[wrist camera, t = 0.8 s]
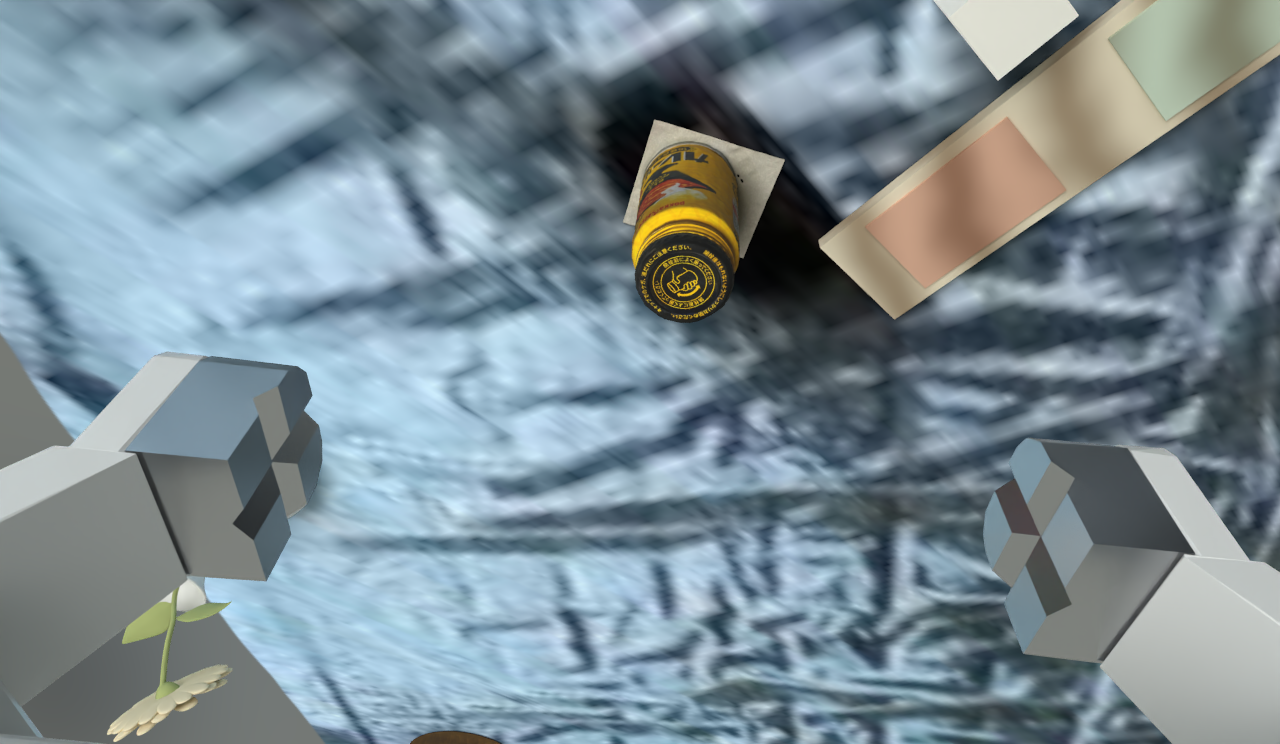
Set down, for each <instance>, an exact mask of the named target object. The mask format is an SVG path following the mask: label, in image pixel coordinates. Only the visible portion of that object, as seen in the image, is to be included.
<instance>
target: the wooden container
mask: <svg viewBox="0 0 1280 744" xmlns="http://www.w3.org/2000/svg"><path fill="white" fill-rule="evenodd" d="M410 744H500V743H498V742H496V741H494V740H491V739H489V738H486V737H483V736H480V735H475V734H471V733H465V732H455V731H443V732H433V733H428V734H425V735H422V736H420V737H418V738H416V739H414V740H413V741H412V742H411V743H410Z"/></svg>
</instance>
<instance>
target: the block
mask: <svg viewBox="0 0 1280 744" xmlns="http://www.w3.org/2000/svg"><path fill="white" fill-rule="evenodd" d="M934 2H935V3H936V4H937V5H938V7H939V8H940V9H941V10H942V12H943V13H944V14H945V16H946V17H947V18H948V19H949V21H950V22H951V23H952V24H953V26H954V27H955V28H956V29H957V31H958V32H959V33H960V34H961V36H962V37H963V38H964V39H965V41H966V42H967V43H968V44H969V46H970V47H971V48H972V49H973V51H974V52H975V53H976V54H977V56H978V57H979V58H980V59H981V61H982V62H983V63H984V64H985V66H986V67H987V68H988V69H989V70H990V72H991V73H992V74H993V75H994V77H995V78H996V79H997V80H999V79H1001V78H1002V77H1003V76H1004V75H1006V74H1007V73H1008V72H1009V71H1011V70H1012V69H1013V68H1014V67H1016V66H1017V65H1018V64H1019V63H1021V62H1022V61H1023V60H1024V59H1026V58H1027V57H1028V56H1029V55H1031V54H1032V53H1033V52H1034V51H1036V50H1037V49H1038V48H1039V47H1041V46H1042V45H1043V44H1044V43H1046V42H1047V41H1048V40H1049V39H1051V38H1052V37H1053V36H1054V35H1056V34H1057V33H1058V32H1059V31H1060V30H1062V29H1063V28H1064V27H1065V26H1067V25H1068V24H1069V23H1070V22H1072V21H1073V20H1074V19H1075V18H1077V17H1078V16H1079V15H1078V14H1077V12H1076V11H1075V9H1074V8H1073V7H1072V5H1071V4H1070V2H1069V1H1068V0H934Z"/></svg>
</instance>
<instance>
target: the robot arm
mask: <svg viewBox="0 0 1280 744" xmlns="http://www.w3.org/2000/svg"><path fill="white" fill-rule="evenodd" d="M311 397H312V392H311V388H310V385H309V381H308V377H307V373H306V372H305V371H303V370H302V369H301V368H299V367H298V366H290V365H282V364H273V363H265V362H257V361H248V360H240V359H232V358H223V357H215V356H211V357H207V356H201V355H192V354H184V353H175V352H164V353H161V354H158V355H155V356H153V357H152V358H151V359H150V360H149V361H148V362H147V363H146V364H145V365H144V367H143V368H142V369H141V370H140V371H139V372H138V373H137V374H136V375H135V376H134V377H133V378H132V380H131V381H130V382H129V383H128V384H127V385H126V386H125V387H124V388H123V389H122V390H121V391H120V392H119V394H118V395H117V396H116V397H115V398H114V399H113V400H112V401H111V402H110V403H109V404H108V405H107V407H106V408H105V409H104V410H103V411H102V412H101V413H100V414H99V415H98V416H97V417H96V418H95V419H94V421H93V422H92V423H91V424H90V425H89V426H88V427H87V428H86V429H85V430H84V431H83V432H82V434H81V435H80V436H79V437H78V438H77V439H76V440H75V441H74V442H73V443H72V444H71V445H70V446H69V447H62V446H52V447H50V448H48V449H46V450H43V451H41V452H39V453H37V454H34V455H32V456H30V457H28V458H26V459H23V460H21V461H19V462H16V463H14V464H12V465H10V466H8V467H5V468H3V469H1V470H0V744H104V743H93V742H83V741H72V740H61V739H51V738H43V736H42V735H41V734H40V732H39V731H38V729H37V728H36V727H35V725H34V724H33V723H32V721H31V720H30V719H29V717H28V716H27V714H26V713H25V712H24V710H23V709H22V708H21V706H23V705H24V704H25V703H27V702H28V701H29V700H30V699H32V698H33V697H34V696H36V695H37V694H38V693H40V692H41V691H42V690H44V689H45V688H46V687H47V686H49V685H50V684H52V683H53V682H54V681H56V680H57V679H58V678H59V677H61V676H62V675H63V674H65V673H66V672H67V671H69V670H70V669H71V668H73V667H74V666H75V665H76V664H78V663H79V662H81V661H82V660H83V659H85V658H86V657H87V656H88V655H90V654H91V653H92V652H94V651H95V650H96V649H98V648H99V647H100V646H102V645H103V644H104V643H105V642H107V641H108V640H110V639H111V638H112V637H113V636H115V635H116V634H117V633H119V632H120V631H121V630H123V629H124V628H125V627H127V626H128V625H129V624H131V623H132V622H133V621H135V620H136V619H137V618H139V617H140V616H141V615H142V614H144V613H145V612H146V611H148V610H149V609H150V608H152V607H153V606H154V605H156V604H157V603H158V602H160V601H161V600H162V599H164V598H165V597H166V596H167V595H169V594H170V593H171V592H173V591H174V590H175V589H177V588H178V587H179V586H181V585H182V584H183V583H185V582H186V581H187V579H188V578H187V576H197V577H212V578H226V579H241V580H255V581H267V579H268V577H269V575H270V573H271V571H272V570H273V568H274V566H275V564H276V562H277V560H278V558H279V556H280V554H281V553H282V551H283V549H284V547H285V545H286V543H287V541H288V539H289V538H290V536H291V531H290V527H289V523H288V519H287V517H288V516H289V515H291V514H292V513H294V512H295V511H297V510H299V509H300V508H302V507H303V506H305V505H306V504H307V503H308V501H309V499H310V497H311V495H312V493H313V491H314V489H315V487H316V485H317V481H318V477H319V472H320V468H321V464H322V439H321V434H320V429H319V425H318V424H317V423H316V422H315V421H314V420H313V419H312V418H311V417H310V416H309V415H308V414H307V413H306V412H305V411H304V409H305V407H306V405H307V404H308V402H309V400H310V399H311ZM1009 465H1010V467H1011V470H1012V472H1013V474H1014V477H1015V479H1013V480H1011V481H1010V482H1008V483H1007V484H1005V485H1003V486H1002V487H1000V488H999V489H997V490H995V492H994V494H993V496H992V498H991V501H990V503H989V505H988V508H987V510H986V513H985V522H984V532H983V536H984V543H985V551H986V554H987V557H988V560H989V563H990V566H991V569H992V571H994V572H995V573H996V574H997V575H998V576H999V577H1000V578H1001V579H1002V580H1004V581H1005V582H1006V583H1007V584H1008V585H1009V586H1010V587H1011V590H1010V592H1009V594H1008V596H1007V598H1006V600H1005V602H1004V604H1005V607H1006V609H1007V612H1008V615H1009V617H1010V620H1011V622H1012V625H1013V628H1014V630H1015V633H1016V636H1017V638H1018V641H1019V644H1020V646H1021V649H1022V652H1023V654H1029V655H1038V656H1046V657H1054V658H1062V659H1070V660H1079V661H1087V662H1095V663H1102V664H1101V666H1100V668H1101V669H1102V670H1103V671H1104V672H1105V673H1106V674H1107V675H1108V676H1109V677H1110V678H1111V679H1112V680H1113V681H1114V682H1115V683H1116V685H1117V686H1118V687H1119V688H1120V689H1121V690H1122V691H1123V692H1124V693H1125V694H1126V695H1127V696H1128V697H1129V698H1130V699H1131V700H1132V701H1133V703H1134V704H1135V705H1136V706H1137V707H1138V708H1139V709H1140V710H1141V711H1142V712H1143V713H1144V714H1145V715H1146V716H1147V717H1148V718H1149V720H1150V721H1151V722H1152V723H1153V724H1154V725H1155V726H1156V727H1157V728H1158V729H1159V730H1160V731H1161V732H1162V733H1163V734H1164V735H1165V736H1166V738H1167V739H1168V740H1169V741H1170V742H1171V743H1172V744H1280V572H1278V571H1277V570H1275V569H1274V568H1272V567H1271V566H1269V565H1268V564H1266V563H1264V562H1255V561H1250V560H1249V559H1248V557H1247V556H1246V555H1245V553H1244V552H1243V550H1242V549H1241V548H1240V546H1239V545H1238V543H1237V542H1236V540H1235V539H1234V538H1233V536H1232V535H1231V533H1230V532H1229V530H1228V529H1227V528H1226V526H1225V525H1224V523H1223V522H1222V521H1221V519H1220V518H1219V516H1218V515H1217V513H1216V512H1215V511H1214V509H1213V508H1212V506H1211V505H1210V504H1209V502H1208V501H1207V499H1206V498H1205V496H1204V495H1203V494H1202V492H1201V491H1200V489H1199V488H1198V486H1197V485H1196V484H1195V482H1194V481H1193V479H1192V478H1191V477H1190V475H1189V474H1188V472H1187V471H1186V469H1185V468H1184V467H1183V465H1182V464H1181V462H1180V461H1179V459H1178V458H1177V457H1176V456H1175V455H1173V454H1172V453H1170V452H1169V451H1167V450H1166V449H1164V448H1153V447H1140V446H1127V445H1116V446H1111V445H1102V444H1091V443H1080V442H1069V441H1058V440H1047V439H1036V438H1026V439H1025V440H1024V441H1023V442H1022V443H1021V444H1020V445H1019V446H1017V448H1016V450H1015V452H1014V454H1013V456H1012V458H1011V460H1010V461H1009Z"/></svg>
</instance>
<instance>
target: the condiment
mask: <svg viewBox="0 0 1280 744" xmlns="http://www.w3.org/2000/svg"><path fill="white" fill-rule="evenodd" d="M784 161H785V160H783V159H780V158H777V157H773V156H770V155H767V154H764V153H761V152H756V151H753V150H750V149H747V148H744V147H741V146H737V145H735V144H732V143H728V142H726V141H723V140H720V139H717V138H714V137H711V136H707V135H704V134H700V133H697V132H694V131H691V130H688V129H685V128H682V127H677V126H675V125H672V124H668V123H665V122H661V121H656V120H654V123H653V126H652V130H651V133H650V136H649V139H648V143H647V146H646V149H645V152H644V155H643V159H642V162H641V165H640V168H639V172H638V175H637V178H636V181H635V185H634V188H633V191H632V195H631V198H630V202H629V205H628V208H627V211H626V214H625V218H624V221H623V223H627V224H630V225H634V226H635V233H634V236H633V240H632V260H633V264H634V267H635V270H636V271H635V281H636V288H637V290H638V293H639V295H640V297H641V299H642V301H643V302H644V304H645V306H647V307H648V308H649V309H650V310H652V311H653V312H654V313H656V314H657V315H658V316H660V317H662V318H664V319H667V320H671V321H675V322H680V323H691V322H696V321H699V320H702V319H704V318H706V317H708V316H710V315H712V314H713V313H715V312H716V311H718V310H719V309H721V308H722V307H723V306H724V305H725V303H726V302H727V300H728V298H729V296H730V294H731V292H732V289H733V286H734V274H735V272H736V270H737V266H738V263H739V257H741V258H744V255H745V253H746V251H747V248H748V245H749V243H750V240H751V238H752V236H753V233H754V231H755V228H756V226H757V224H758V221H759V219H760V216H761V214H762V212H763V209H764V207H765V205H766V201H767V200H768V198H769V196H770V193H771V191H772V189H773V186H774V184H775V181H776V179H777V177H778V175H779V173H780V170H781V168H782V166H783V163H784ZM737 174H739V176H740V177H739V178H738V177H737ZM740 179H743V181H744V182H743V183H742V182H741V181H740Z"/></svg>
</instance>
